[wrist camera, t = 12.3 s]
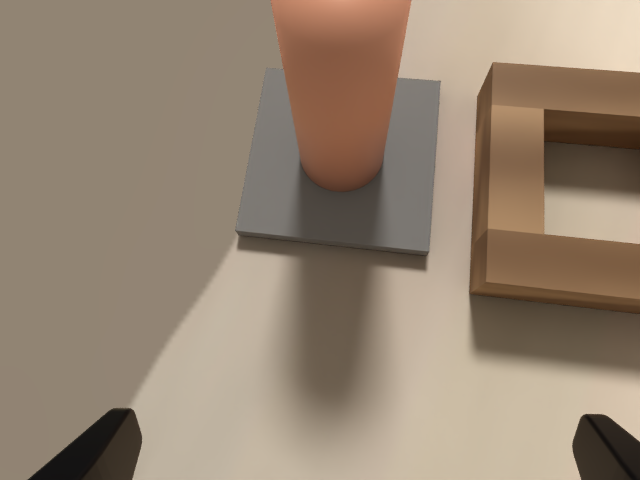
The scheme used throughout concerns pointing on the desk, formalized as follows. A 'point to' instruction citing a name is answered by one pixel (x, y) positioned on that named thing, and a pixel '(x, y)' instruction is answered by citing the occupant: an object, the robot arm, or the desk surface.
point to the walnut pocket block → (528, 185)
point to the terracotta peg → (341, 83)
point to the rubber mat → (352, 206)
